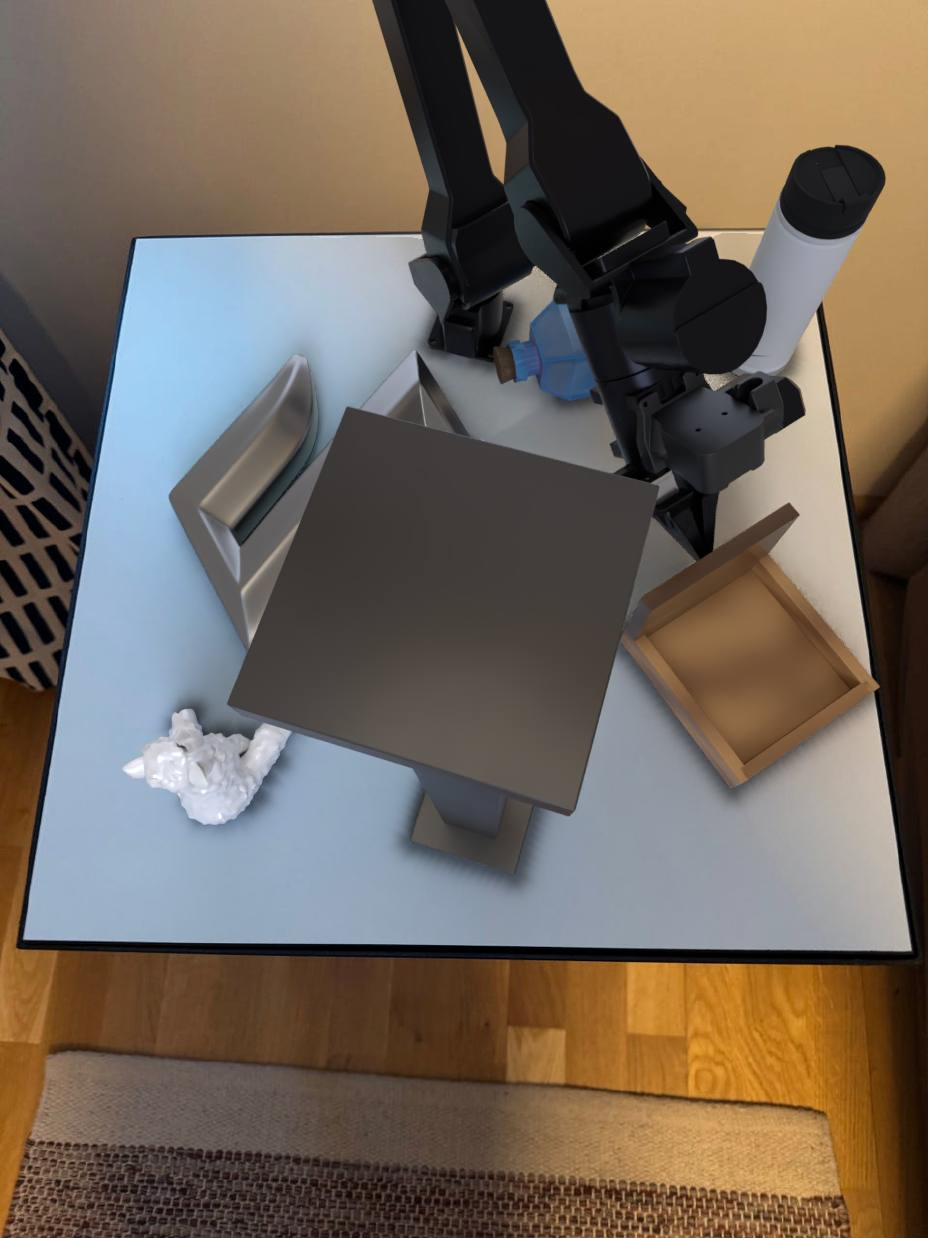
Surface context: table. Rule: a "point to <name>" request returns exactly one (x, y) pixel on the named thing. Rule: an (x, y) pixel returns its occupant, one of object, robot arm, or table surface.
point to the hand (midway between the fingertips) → (704, 560)
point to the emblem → (278, 479)
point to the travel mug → (809, 243)
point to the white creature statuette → (209, 766)
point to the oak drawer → (744, 654)
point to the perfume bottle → (548, 356)
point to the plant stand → (452, 622)
